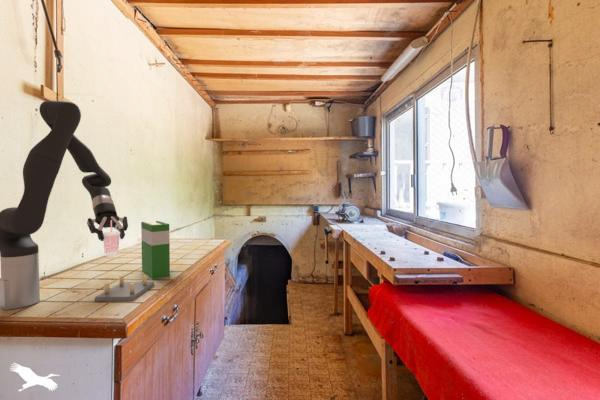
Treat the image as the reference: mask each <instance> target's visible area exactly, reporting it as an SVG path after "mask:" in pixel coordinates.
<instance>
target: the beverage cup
mask: <svg viewBox="0 0 600 400" xmlns="http://www.w3.org/2000/svg"><path fill="white" fill-rule="evenodd" d="M103 235H104V240H103V241H102V242H103V249H104V250H103V251H104V257H113V256H117V255H119V250H120V249H119V248H120V247H119V246H120V232H119V231H113V227H112V220H111V227H110V231H105V232H103Z"/></svg>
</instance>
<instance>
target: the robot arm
mask: <svg viewBox="0 0 600 400" xmlns="http://www.w3.org/2000/svg"><path fill="white" fill-rule="evenodd" d="M39 105H40V106H39V108H38V109H39V114H40V116H41V118H42V120H43V121H44V123H45V124H46V125H47V126H48V127H49V129H50V131H49V133H48V134H47V135H45V136H44V137H43V138H42V139H40V141H39V142H37V143H36V144H35V145H34V146H33V147H32V148H31V149H30V150H29V152H28V154H27V157H26V159H25V161H24V164H23V168H22V179H23V194H22V197H21V198H20V202H19V204H18V205H17V207H16V206H15V207H7V208H4V209H2V210H1V211H0V308H1V309H2V310H4V311H8V310H12V309H13V310H14V309H15V310H16V309H20V308H25V307H30V306H32V305H35V304H37V303H38V302H39V301H41V299H40V297H41V293H40V263H39V262H40V259H39V257H40V256H39V251H40V250H39V245H38V244H37V242H35V241H34V240H33V238H32V237H31V235H32V234H35V233H37V232H38V231H39V230H40V229H41V227H42V226H43V223H44V220H45V218H46V213H47V212H46V211H47V207H48V202H49V200H50V199H49V198H50V196H51V193H52V190H53V188H54V184H55V181H56V179H57V176H58V174H59V171H60V168H61V165H62V163H63V160H64V157H65V154H66V151H68V152H69V154H70V155H71V157H72V159H73V161H74V163H75V164H76V166H77V168H78V169H79V171H80V172H82V173H84V174H85V173H87V174H88V173H90V174H88V175H84V177H82V180H81V183H82V187H84V188H85V189H86V191H87V192H88V193H89V195H90V198H91V202H92V210H93V213H94V218H91V217H89V218H87V222H86V224H87V227H88V229H89V232H90V233H91V234H96V235H97V239H98V240H100V242H104V241H103V240H104V235H103V233H104V231H103V229H108V228H111V220H112V229H114V230H117V232H120V235H119V240H123V239H124V238H125V237H126V236H125V235H126V233H125V232H126V231H127V230H128V228H129V224H128V223H129V222H128V217H127V216H123V217H120V216H118V214H117V210H116V206H115V204H114V203H115V202H114V201H113V198H112V195H111V191H110V190H109V188H108V187H109V186H110V185H111V184H112V178H111V177H110V175H109V174H108V173H107V172H106V171H105V170H104V169H103V168H102V167H101V166H100V164H99V163H98V161H97V159H96V158H95V155H94V153H93V152H92V150H91V149H90V148H89V147H88V146H87V145H86V144H85V143H84V142H83V141H82V140H81V139H80V138H78V137H77V136H76V134H75V132H76V130H77V128H78V127H79V124H80V122H81V119H82V112H81V109H80V107H79V106H78V104H76V103H75V102H72V101H67V100H44V101H43V102H41V104H39ZM95 223H96V224H97V225H99V226H98V228H97V227H96V225H95Z"/></svg>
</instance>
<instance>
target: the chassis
mask: <svg viewBox="0 0 600 400" xmlns="http://www.w3.org/2000/svg"><path fill="white" fill-rule="evenodd" d="M147 276H148V275H143V276H142V281H124V279H125V278H124V275H120V276H119V283H118V284H116V285H115V286H112V287H111V288H110V282H109V283H108V282H107V283H104V292H102V293H100V294H98V295H96V296H94V302H132V301H134V300H136V299H137V298H139V297H140V296H142V295H143V294H144V293H146V292H147V291H149V290H150V289H151V288H153V287H154V286H155V281H148V279H147V278H148V277H147ZM148 289H149V290H148Z"/></svg>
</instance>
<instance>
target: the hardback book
mask: <svg viewBox="0 0 600 400" xmlns="http://www.w3.org/2000/svg"><path fill="white" fill-rule="evenodd" d="M140 223H141V271H142V272H143V273H144V274H145V276H148V277H149V278H150V279H151V280H157V279H162V278H166V277H170V276H171V269H170V267H171V266H170V264H171V263H170V261H171V259H170V247H171V246H170V244H171V243H170V223H167V222H163V221H160V220H156V221H155V222H145V221H141V222H140Z"/></svg>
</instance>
